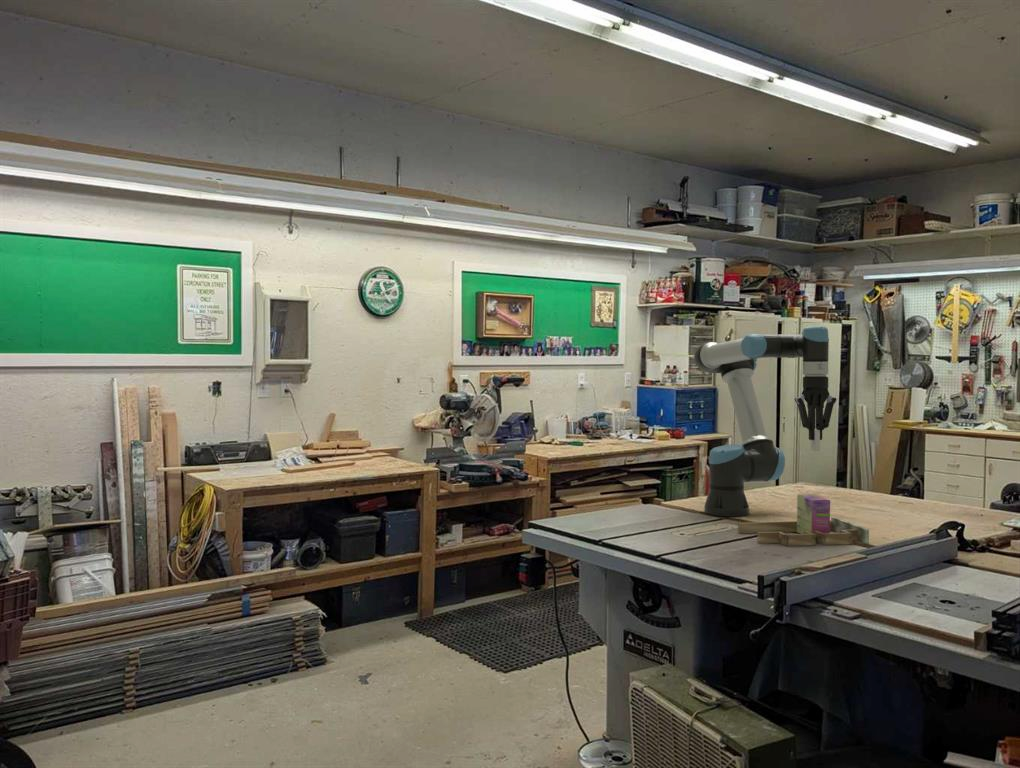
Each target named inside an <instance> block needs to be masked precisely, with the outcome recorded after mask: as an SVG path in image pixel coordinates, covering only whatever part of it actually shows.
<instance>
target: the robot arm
mask: <svg viewBox="0 0 1020 768" xmlns="http://www.w3.org/2000/svg"><path fill="white" fill-rule="evenodd" d="M829 342H830V338H829V329H828V328H827V327H826V326H806V327H803V329H802V334H798V333H797V334H774V333H773V334H769V333H768V334H767V333H766V334H765V333H764V334H763V333H762V334H761V333H760V334H759V333H752V334H746V335H745V336H744V337H742V338H739V339H733V340H728V341H722V342H721V341H717V342H716V341H710V342H704V343H702V344H700V345H698V347H697V348H696V349H695V351H694V355H693V361H694V363H695V365H696V366H697V368H698V369H700V370H701V371H703V372H705V373H709V374H720V376H721V380H722V382H724V383H727V386H728V391H729V394H730V399H731V402H732V405H733V406H732V407H733V409H734V414H735V418H736V421H737V425H738V429H739V430H738V431H739V432H740V437H741V441H742V442H741V444H725V445H720V446H716V447H713V448H712V449H710V450H709V458H708V463H709V465H708V466H709V469H708V473H709V478H708V479H709V480H708V481H709V487H708V488H709V489H708V490H709V491H708V494H707V496H706V500H705V503H704V505H703V511H704V513H705V514H707V515H708V514H709V515H712V516H718V517H719V516H721V517H743V516H747V515H749V514H750V506H749V502H748V500H747V497H746V494H745V483H751V482H752V483H753V482H754V483H755V482H769V481H770V482H771V481H776V480H778V479H779V478H781V476H782V475H783V473H784V470H785V466H786V458H785V454H784V451H783V450H782V449H781V448H779V447H777V446H776V447H775V444H774V441H773V439H771V438H770V437H768V436H767V432H766V429H765V425H764V421H763V417H762V414H761V410H760V407H759V403H758V400H757V395H756V392H755V388H754V384H753V380H752V377H753V376H754V372H755V370H756V368H757V366H758V365H757V364H758V363H757V361H758V359H763V358H764V359H765V358H783V359H786V358H787V359H795V358H802V374H803V377H802V392H801V395H800V396H798V397H795V398H794V402H795V403H796V405H797V408H798V412H799V417H800V421H801V424H802V425H801V426H802V427H803V428H805V429H807V430H808V440H809V441H810V444H811V445H810V450H811V451H813V452H820V451H821V441H823V431H824V430H825V429H827V428H829V426H830V422H831V417H832V413H833V410H834V405H835V403H836V402H837V398H836V397H833V396H832V395H831V394H830V392H829V376H827V375H829V349H830V348H829V347H830V346H829V345H830V344H829ZM805 402H806V404H807V405H805ZM806 408H807V409H806Z"/></svg>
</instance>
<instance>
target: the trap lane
mask: <svg viewBox="0 0 1020 768" xmlns="http://www.w3.org/2000/svg"><path fill="white" fill-rule="evenodd" d="M737 523H738V524H737V528H738V529H737V532H738V533H737V534H753V533H754V534H755V533H756V535H757V536H756V537H757V543H758V544H777V543H779V544H781V545H782V546H785V547H787V546H788V547H790V546H792V547H794V546H796V547H797V546H816V545H817V544H820V545H823V546H824V545H825V546H826V545H829V546H831V545H853V541H858V542H861V543H863V542H864V543H863V544H869V543H870V529H869V528H866V527H863V526H860V525H857V524H855V523H852V522H850V521H846V520H845V519H844V520H843V519H841V518H838V517H836V516H830V533H822V532H819V531H804V534H800V533H798V532H797V520H796V521H795V520H793V521H788V520H787V521H761V522H760V521H754V522H753V521H751V522H749V521H748V522H737ZM832 531H833V532H832ZM789 532H791V534H787V533H789ZM792 532H793V534H792ZM794 532H796V533H795V534H794ZM816 543H817V544H816Z"/></svg>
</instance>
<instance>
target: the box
mask: <svg viewBox="0 0 1020 768" xmlns="http://www.w3.org/2000/svg"><path fill="white" fill-rule="evenodd" d="M796 502H797V503H796V521H797V532H796V533H797V534H804V531H819V532H822V533H831V531H830V520H831V500H830V499H827V498H825V497H823V496H819V495H817V494H814V493H813V494H812V493H807V494H806V493H805V494H804V493H801V494H799V493H798V494H797V496H796Z"/></svg>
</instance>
